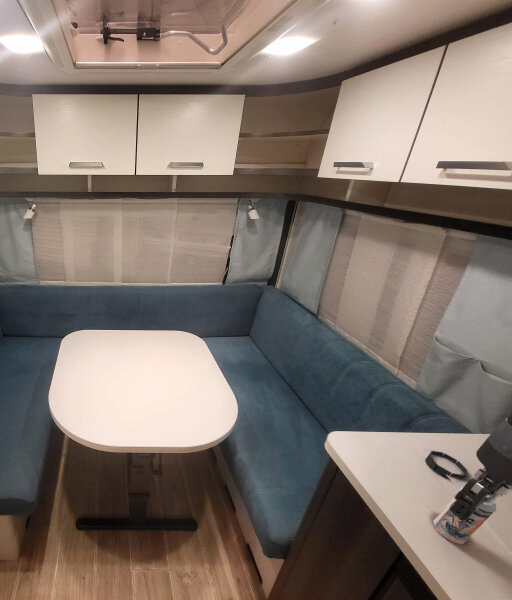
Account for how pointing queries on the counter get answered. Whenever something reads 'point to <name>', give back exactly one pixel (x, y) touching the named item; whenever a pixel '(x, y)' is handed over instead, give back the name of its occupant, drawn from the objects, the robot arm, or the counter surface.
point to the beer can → (462, 529)
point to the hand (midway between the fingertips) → (468, 509)
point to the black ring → (441, 470)
